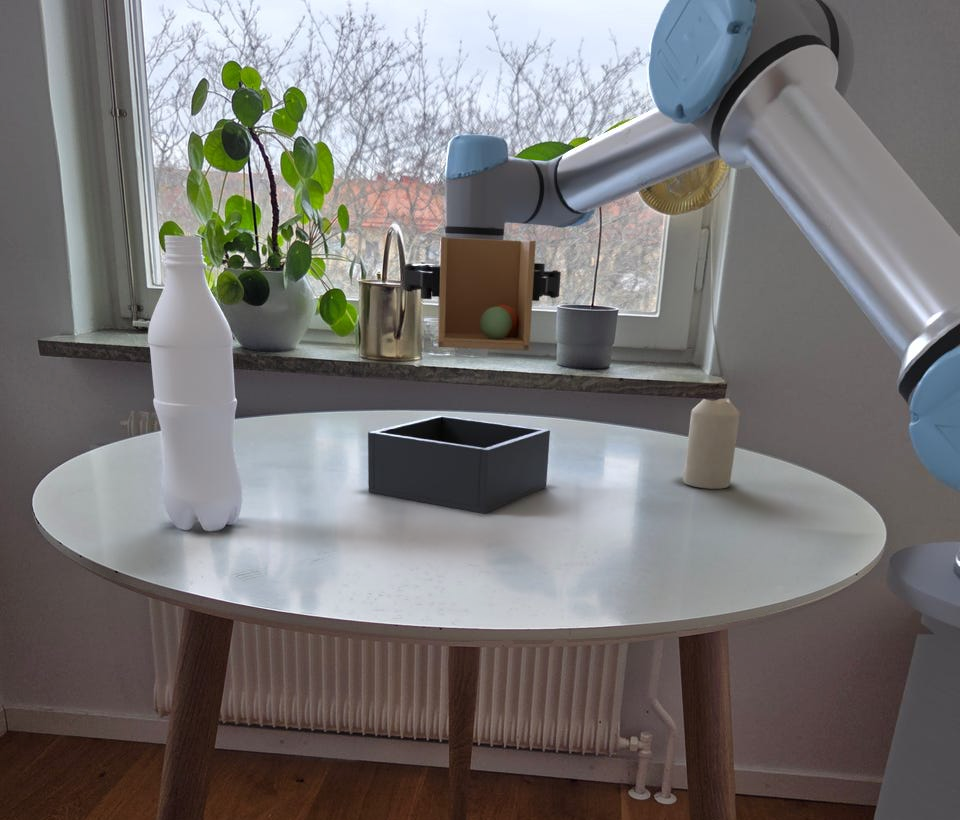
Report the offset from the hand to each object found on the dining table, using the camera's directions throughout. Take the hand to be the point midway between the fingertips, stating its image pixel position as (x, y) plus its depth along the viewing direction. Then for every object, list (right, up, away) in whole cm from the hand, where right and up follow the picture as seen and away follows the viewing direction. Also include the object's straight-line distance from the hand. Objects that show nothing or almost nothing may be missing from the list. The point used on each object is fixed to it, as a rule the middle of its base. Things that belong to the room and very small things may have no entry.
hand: (486, 283), depth 90 cm
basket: (-3, -18, +14) cm, 23 cm away
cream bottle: (+26, -16, +22) cm, 38 cm away
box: (0, -4, +6) cm, 8 cm away
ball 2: (+1, -2, +8) cm, 9 cm away
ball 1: (+1, -1, +3) cm, 3 cm away
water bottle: (-27, -24, -2) cm, 36 cm away
